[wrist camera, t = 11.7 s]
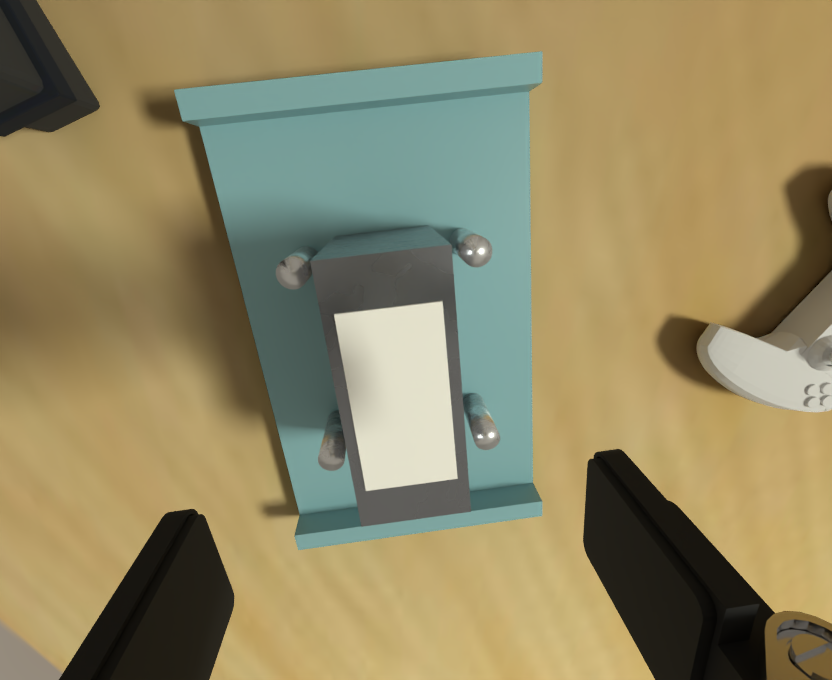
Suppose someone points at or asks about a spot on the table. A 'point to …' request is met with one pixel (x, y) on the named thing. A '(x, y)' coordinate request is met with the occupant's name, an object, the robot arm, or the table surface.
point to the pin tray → (376, 211)
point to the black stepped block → (37, 73)
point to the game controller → (778, 356)
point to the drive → (396, 370)
